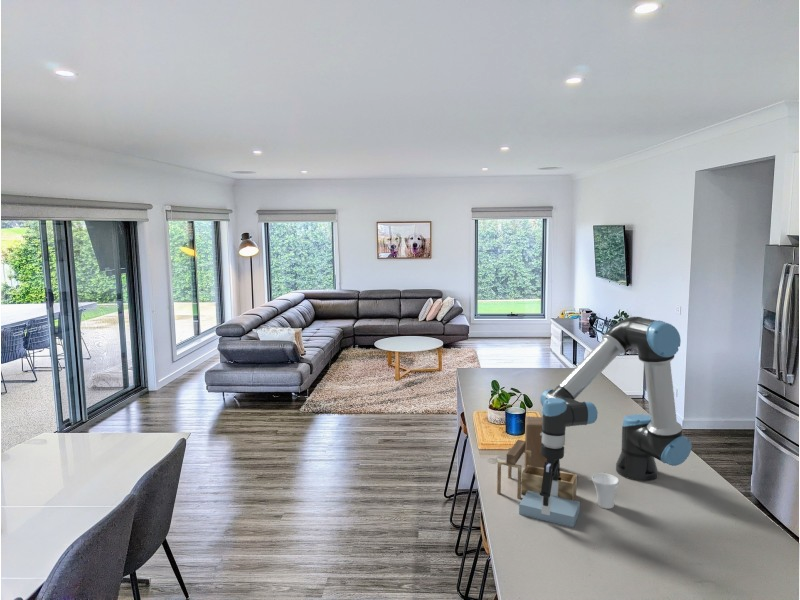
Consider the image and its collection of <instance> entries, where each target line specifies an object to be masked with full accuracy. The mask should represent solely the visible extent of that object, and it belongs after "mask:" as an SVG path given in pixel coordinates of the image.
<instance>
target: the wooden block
mask: <svg viewBox="0 0 800 600" xmlns="http://www.w3.org/2000/svg"><path fill="white" fill-rule="evenodd" d="M524 424H525V427H524V429H525V430H524V441H526V450H528V451H531V466H536V467H541V468H544V465H545V461H547V459H546V458H545V457H543V456H542V455H541V444H542V436H541V435H540V433H542V417H541V416H525V423H524ZM527 465H528V453H524V469H525V468H526V466H527Z"/></svg>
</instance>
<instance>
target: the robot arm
mask: <svg viewBox="0 0 800 600" xmlns="http://www.w3.org/2000/svg"><path fill="white" fill-rule="evenodd" d="M601 337H602V340H601V341H600V342H599V343H598V344H597V345H596V346H595V347H594V348H593V349H592V350H591V351H590V352H589V353H588V354H587V355H586V356H585V357H584V358H583V359H582V361H581V362H580V363H579V364H578V365H577V366H575V368H574V369H573V370H572V371H571V372H569V374H567V376H566V377H565V378H564V379H563V380H562V381H561V382H560V383H559V384H558V385H557V386H556V387H555V388H554V389H553V388H552V389H551V388H549V389H546V390H544V391H542V393H541V395H540V397H539V399H540V404H541V406H542V411H541V412H542V415H541V416H542V433H540V435H541V436H542V444H541V455H542V456H543V457H545V458H546V459H547V461H545V465H544V473H543V481H542V489H541V493H540V495H541V496H542V509H541V514H545V515H550V505H551V496H555V497H558V484H559V481H561V477H560V471H561V467H560V465H561V463H560V460H562V459H563V458H564V457H565V442H566V427H567V428H570V427H577V426H587V425H591V424H594V423H595V422H596V421H597V420H598V414H599V412H598V409H597V407H596V405H595V404H594V403H593V402H591V401H582V402H581V401H577V400H576V399H577V398H578V397H579V395H581V394H582V393H583V392H584V390H585V389H587V388H588V387H589V386H590V385H591V384H592V382H593V381H594V380H595V379H596V378H598V376H599V375H600V374H601V373H602V372H603V371H604V369H606V368H607V367H608V366H609V365H610V364H611V363H612V362H613V360H615V359H616V357H618V356H619V355H623V354H624V353H625V352H627V351H628V350H629V349H635V350H637V355H638V360H639V361H641V362H642V363H643V366H644V367H643V368H644V375H645V384H646V392H647V400H648V409H649V415H648V414H638V413H637V414H629V415H625V416H624V417H623V420H622V425H621V426H622V427H621V452H620V454H619V457H618V459H617V461H616V463H615V471H616V472H617V473H618V474H619V475H620V476H621V477H624V478H626V479H628V480H629V479H630V480H633V481H640V482H649V481H653V480H656V479H657V478H658V473H659V472H658V470H659V469H658V467H657V463H656V460H655V459H657V460H659V461H660V462H662V463H663V464H667V465H668V466H672V467H675V466H676V467H677V466H680V465H681V464H683V463H684V462H686V460H687V459H688V457H689V456H690V455H691V452H692V442H691V440H690V438H688V437H687V436H685V435H684V433H683V427H682V424H681V423H680V422H678V421H677V411H676V403H675V394H674V386H673V385H674V384H673V374H672V373H673V372H672V366H671V365H672V363H671V362H672V361H673V360H674V358H675V355H676V354H677V353H678V352H679V347H681V342H682V340H681V335H680V333H679V331H678V329H677V328H676V327H675V326H674V325H672V323H669V322H666V321H663V320H656V319H655V320H654V319H650V318H645V317H642V316H630V317H627V318H624V319H622V320H620V321H619V322H617V323H615V324H614V325H613V326H611V328H609V329H608V330H607V331H606V332H605V333H604V334H603V335H602V336H601ZM557 480H559V481H557ZM550 495H551V496H550Z"/></svg>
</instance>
